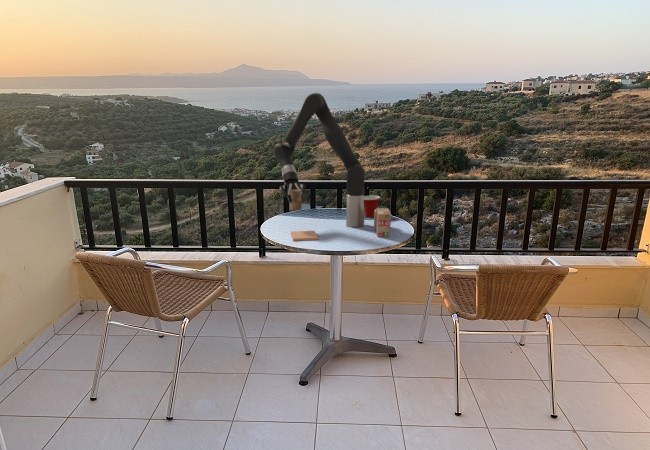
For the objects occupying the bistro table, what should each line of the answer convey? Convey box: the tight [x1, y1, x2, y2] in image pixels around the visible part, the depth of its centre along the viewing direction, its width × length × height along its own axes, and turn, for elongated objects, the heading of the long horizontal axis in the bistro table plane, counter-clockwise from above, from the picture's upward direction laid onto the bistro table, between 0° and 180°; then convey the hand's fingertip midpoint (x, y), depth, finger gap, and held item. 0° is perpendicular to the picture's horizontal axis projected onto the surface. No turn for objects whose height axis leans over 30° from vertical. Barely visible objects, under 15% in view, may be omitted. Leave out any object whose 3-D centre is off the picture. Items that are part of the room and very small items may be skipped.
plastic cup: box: [363, 194, 381, 218], centre depth 238 cm, size 11×11×12 cm
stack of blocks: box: [373, 207, 392, 238], centre depth 208 cm, size 21×6×12 cm, turn 178°
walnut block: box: [289, 189, 303, 211], centre depth 205 cm, size 5×5×10 cm
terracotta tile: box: [290, 230, 319, 242], centre depth 199 cm, size 12×12×1 cm
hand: (296, 201), depth 204 cm, fingers closed on walnut block, 5 cm apart
